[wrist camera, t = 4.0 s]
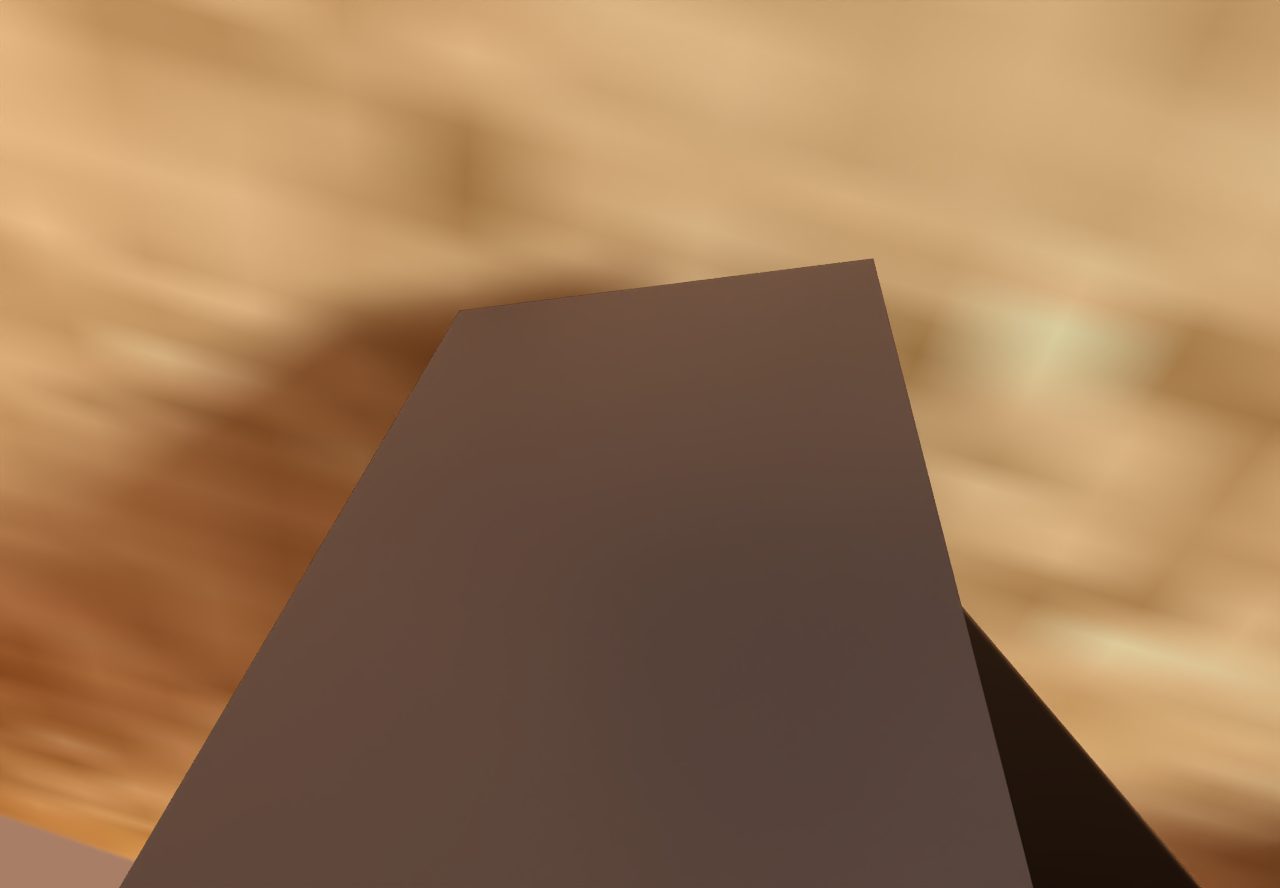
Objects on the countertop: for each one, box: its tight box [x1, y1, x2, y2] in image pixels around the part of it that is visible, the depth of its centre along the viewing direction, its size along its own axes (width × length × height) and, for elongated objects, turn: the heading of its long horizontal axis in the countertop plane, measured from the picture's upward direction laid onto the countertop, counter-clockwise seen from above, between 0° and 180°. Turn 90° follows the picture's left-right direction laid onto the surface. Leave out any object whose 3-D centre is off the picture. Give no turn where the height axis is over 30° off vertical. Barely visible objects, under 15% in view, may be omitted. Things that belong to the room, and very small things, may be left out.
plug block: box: [120, 259, 1033, 888], centre depth 8 cm, size 4×6×6 cm, turn 11°
